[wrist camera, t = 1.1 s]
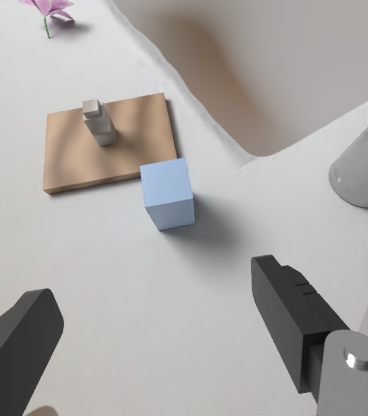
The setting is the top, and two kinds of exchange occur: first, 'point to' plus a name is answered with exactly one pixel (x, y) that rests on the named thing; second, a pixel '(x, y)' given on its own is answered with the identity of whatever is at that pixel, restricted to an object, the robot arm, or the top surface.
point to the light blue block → (168, 193)
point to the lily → (50, 7)
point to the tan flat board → (106, 142)
